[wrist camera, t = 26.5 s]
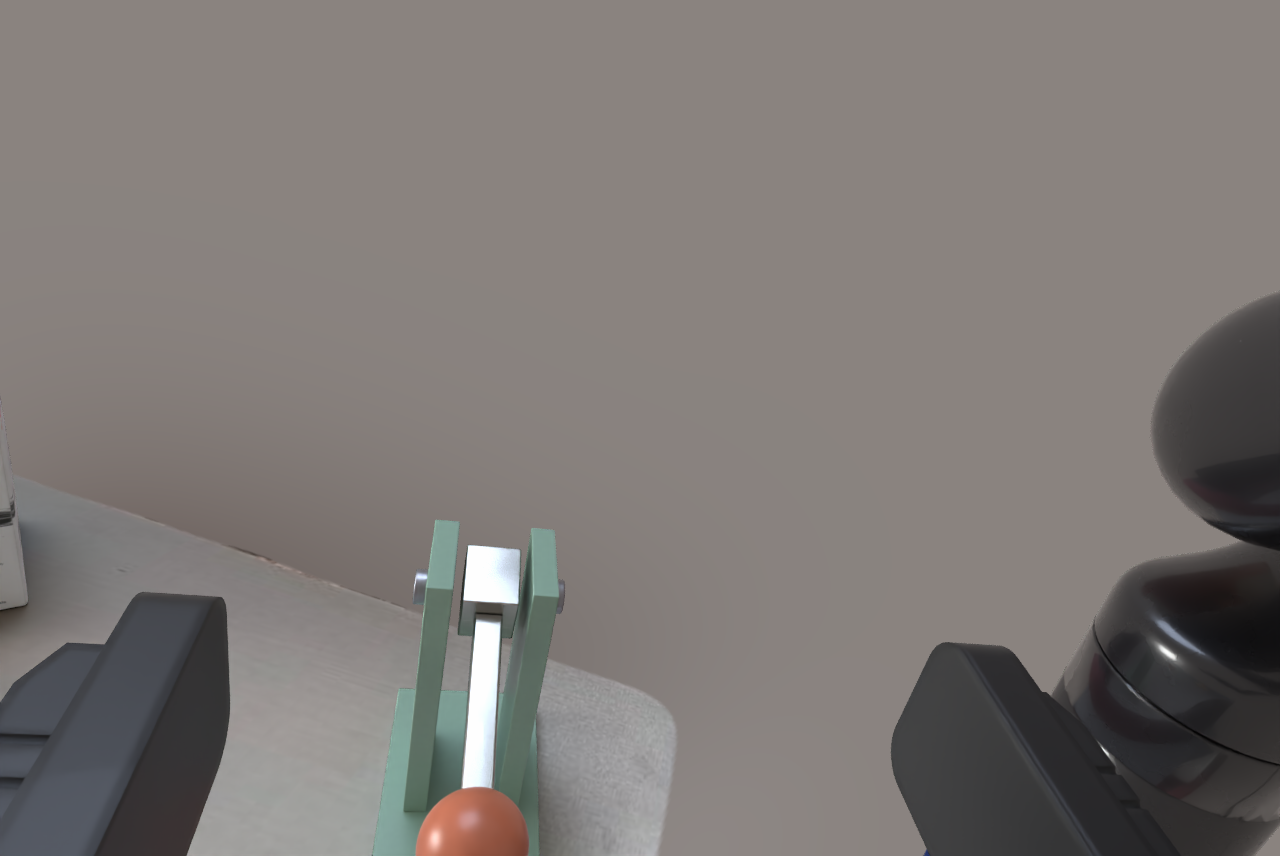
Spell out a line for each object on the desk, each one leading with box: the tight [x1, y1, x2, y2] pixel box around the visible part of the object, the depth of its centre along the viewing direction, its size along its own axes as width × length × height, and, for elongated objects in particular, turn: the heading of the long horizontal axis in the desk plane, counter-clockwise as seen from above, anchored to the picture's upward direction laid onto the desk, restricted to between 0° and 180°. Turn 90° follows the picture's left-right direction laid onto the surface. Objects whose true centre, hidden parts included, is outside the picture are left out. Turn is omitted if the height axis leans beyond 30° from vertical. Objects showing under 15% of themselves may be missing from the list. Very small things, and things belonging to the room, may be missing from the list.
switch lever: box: [416, 545, 529, 856], centre depth 31 cm, size 13×4×4 cm, turn 8°
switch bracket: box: [372, 520, 565, 856], centre depth 37 cm, size 10×7×14 cm
